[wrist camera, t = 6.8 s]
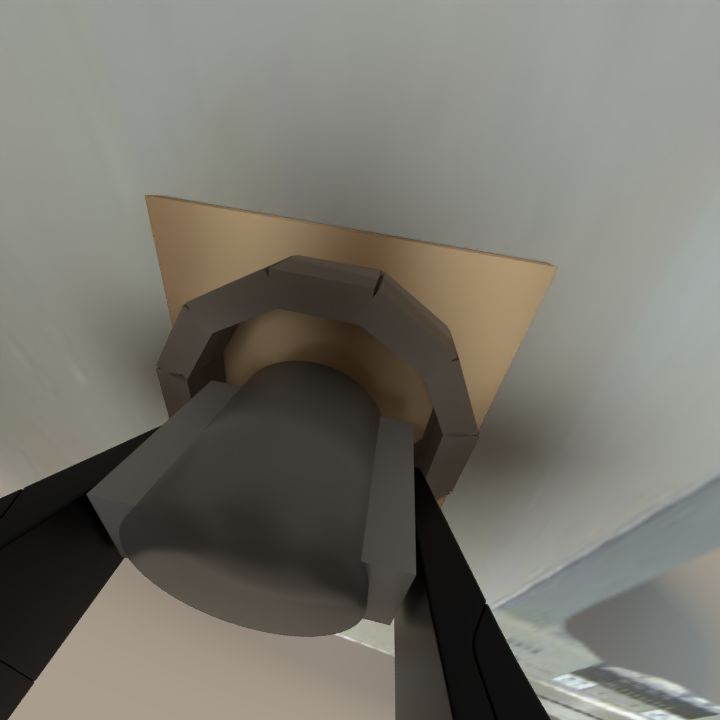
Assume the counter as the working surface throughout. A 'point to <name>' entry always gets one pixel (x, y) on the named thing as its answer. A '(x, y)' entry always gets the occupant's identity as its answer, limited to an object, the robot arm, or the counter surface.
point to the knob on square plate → (344, 316)
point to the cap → (272, 503)
